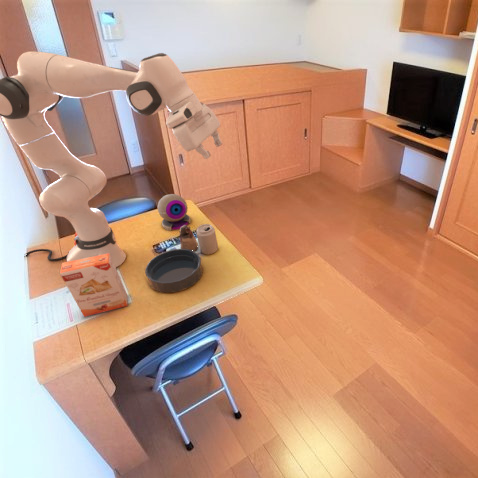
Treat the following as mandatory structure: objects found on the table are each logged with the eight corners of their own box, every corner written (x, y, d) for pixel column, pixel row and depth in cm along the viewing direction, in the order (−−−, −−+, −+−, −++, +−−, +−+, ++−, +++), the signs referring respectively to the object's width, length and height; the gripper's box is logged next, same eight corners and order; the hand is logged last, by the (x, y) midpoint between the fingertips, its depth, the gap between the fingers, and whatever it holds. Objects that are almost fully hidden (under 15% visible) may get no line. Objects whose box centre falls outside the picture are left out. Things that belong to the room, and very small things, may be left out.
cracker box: (84, 318, 122) (58, 273, 109) (85, 306, 126) (61, 261, 114) (128, 306, 126) (108, 262, 114) (128, 295, 131) (109, 251, 118)
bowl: (148, 299, 130) (144, 288, 126) (150, 264, 145) (146, 254, 142) (205, 286, 135) (202, 276, 132) (201, 255, 151) (198, 244, 147)
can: (213, 256, 150) (209, 233, 143) (197, 254, 151) (192, 231, 144) (221, 246, 156) (217, 223, 149) (205, 244, 157) (200, 221, 150)
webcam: (168, 233, 163) (160, 205, 154) (158, 221, 171) (149, 194, 162) (195, 223, 170) (188, 196, 161) (184, 212, 177) (177, 186, 169)
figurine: (189, 241, 158) (183, 219, 151) (201, 246, 156) (196, 223, 149) (178, 250, 153) (171, 228, 146) (190, 255, 150) (184, 232, 143)
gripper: (194, 104, 113) (218, 142, 120) (162, 125, 97) (192, 168, 104) (209, 96, 111) (233, 135, 118) (179, 116, 95) (209, 161, 102)
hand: (214, 151), depth 111 cm, fingers open, 8 cm apart
